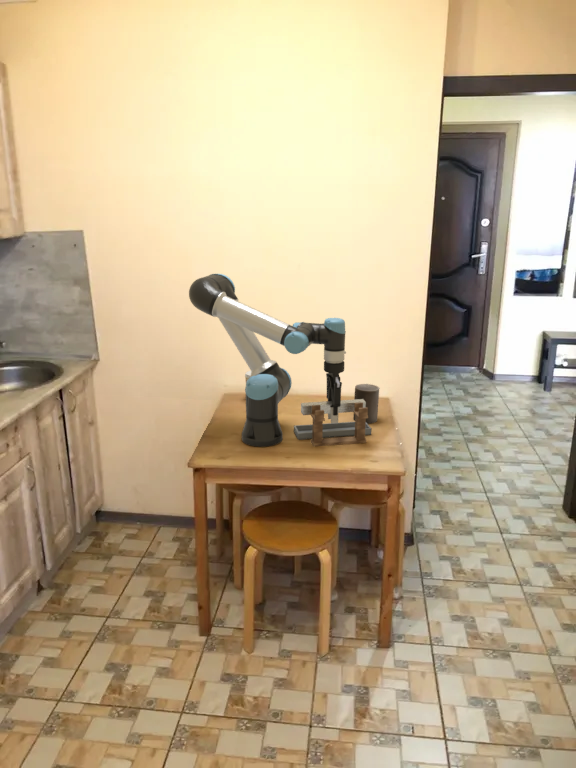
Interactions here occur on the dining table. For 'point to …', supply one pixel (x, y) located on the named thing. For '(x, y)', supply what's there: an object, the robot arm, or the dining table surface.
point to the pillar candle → (368, 400)
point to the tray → (329, 430)
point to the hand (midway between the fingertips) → (333, 420)
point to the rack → (359, 437)
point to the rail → (345, 407)
